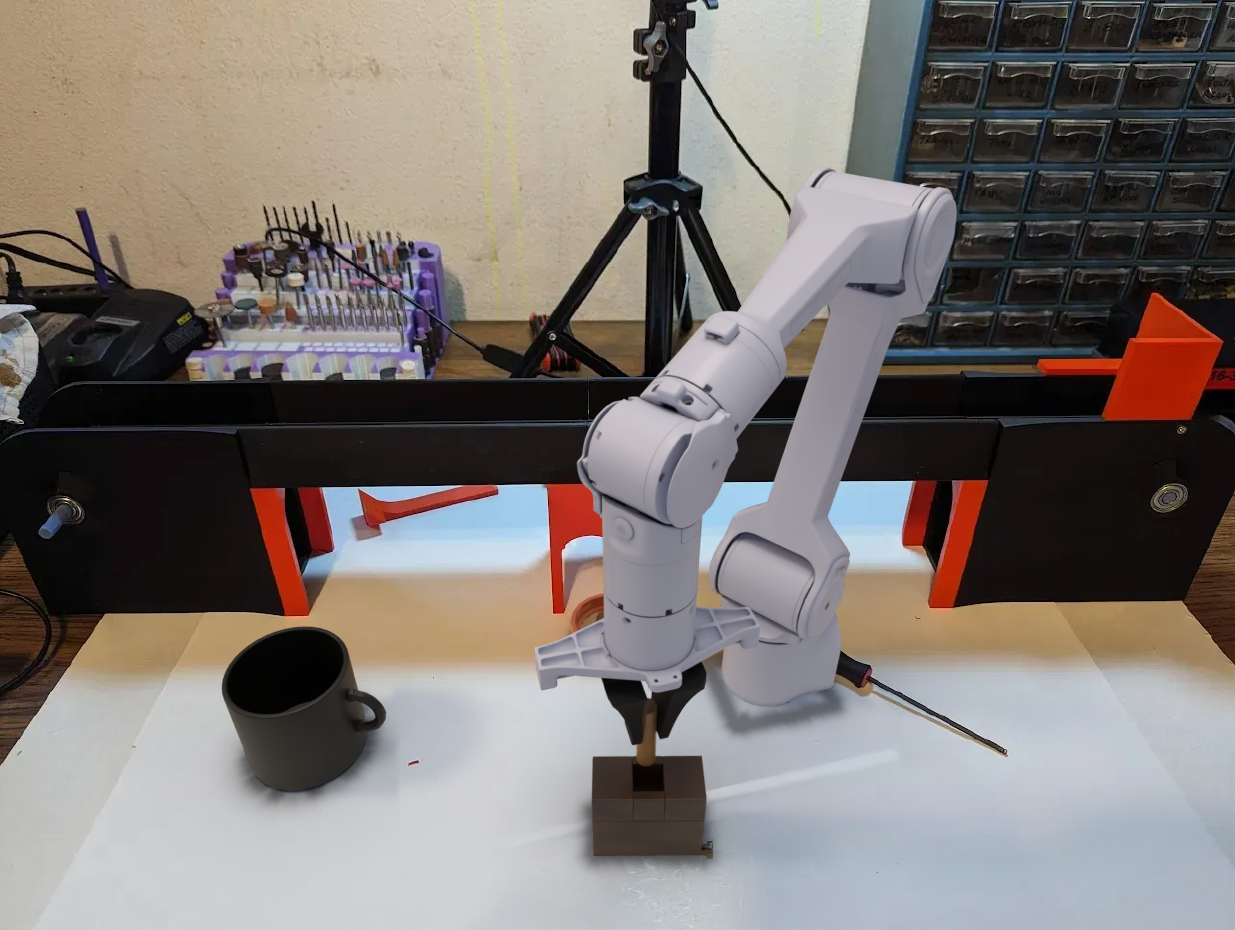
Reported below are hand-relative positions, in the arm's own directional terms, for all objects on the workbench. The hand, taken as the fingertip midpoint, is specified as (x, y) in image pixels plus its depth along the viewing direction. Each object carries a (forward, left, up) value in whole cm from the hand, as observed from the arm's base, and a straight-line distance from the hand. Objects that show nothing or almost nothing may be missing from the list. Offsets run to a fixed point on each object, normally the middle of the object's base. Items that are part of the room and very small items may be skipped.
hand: (646, 730), depth 57 cm
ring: (-2, -19, -10) cm, 21 cm away
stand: (0, +1, -10) cm, 10 cm away
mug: (+24, -13, -10) cm, 29 cm away
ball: (-2, -20, -9) cm, 22 cm away
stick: (0, 0, -3) cm, 3 cm away
